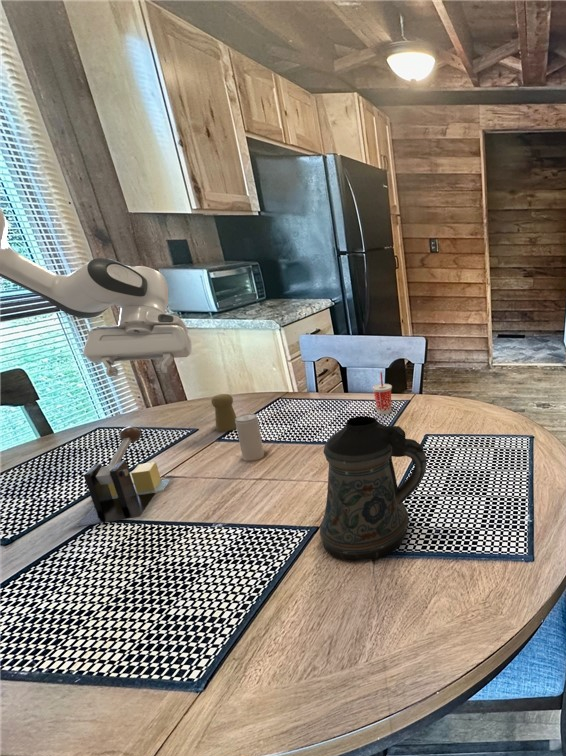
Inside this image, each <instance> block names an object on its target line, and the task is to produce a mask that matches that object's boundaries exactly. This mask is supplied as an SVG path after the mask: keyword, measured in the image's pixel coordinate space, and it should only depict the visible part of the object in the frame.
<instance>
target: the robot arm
mask: <svg viewBox="0 0 566 756" xmlns="http://www.w3.org/2000/svg"><path fill="white" fill-rule="evenodd" d="M8 227H9V226H8V221H7V217H6V215H5V214H4V211H3V210H2V208H1V207H0V278H2V279H4V280H6V281H8V282H10V283H13V284H14V285H17V286H18V287H21V288H23V289H25V290H26V291H29V292H31V293H33V294H34V295H37V296H39V297H40V298H42V299H44V300H46V301H47V302H49V303H50V304H52V306H54V307H56V308H57V309H58V310H60V311H61V312H64V313H65V314H67V315H69V316H72V317H76V318H81V319H92V318H93V319H94V318H97V317H98V316H100V315H102V314H103V313H105V311H107V310H108V309H109V308H111V307H112V306H117V307H119V309H120V311H119V320H118V325H109V326H103V325H102V326H96V327H95V328H93V329H91V330H89V331H88V333H87V338H86V341H85V343H84V346H83V349H82V355H83V356H84V357H85V358H86V359H87V360H89V361H90V362H92V363H94V364H95V363H96V364H97V363H98V364H99V363H103V365H104V367H105V368H106V372H105V373H106V375H107V376H108V377H110V378H112V377H118V376H119V372H120V370H119V369H118V368H117V367H116V366H114V365H115V362H129V361H146V360H162V361H161V362H160V363H156V365H155V366H156V368H155V371H156V372H157V373H158V374H166V373H167V372H168V367H170V365H171V364H172V363H174V359H178V358H188V357H189V356H190V355H192V351H193V350H192V349H193V348H192V340H191V337H190V335H189V329H188V327H187V325H186V324H185V322H184V321H183V320H182V318H180V317H179V316H177V315H173V314H169V313H166V310H167V308H168V306H169V286H168V282H167V279H166V278H165V276H164V275H163V273H161V272H159V271H158V270H156V269H154V268H152V267H148V266H144V265H138V266H136V265H135V266H130V265H125V264H123V263H122V262H120V261H117V260H115V259H112V258H111V259H110V258H107V257H106V258H105V257H98V258H97V257H96V258H94V259H92V260H90V261H88V262H86V263H84V264H83V265H82V266H80V267H78V268H77V269H76V270H75V271H73V272H72V273H69V274H66V275H65V274H64V275H63V274H58V273H54V272H52V271H51V270H49V269H47V268H45V267H43V266H42V265H40V264H38V263H36V262H34V261H32V260H31V259H29V258H27V257H25V256H23V255H22V254H19V253H18V252H17V251H15V250H14V249H13V248H12V247H11V246H10V244H9V242H8V239H7V237H8Z"/></svg>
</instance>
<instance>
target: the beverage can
mask: <svg viewBox="0 0 566 756" xmlns="http://www.w3.org/2000/svg"><path fill="white" fill-rule="evenodd" d="M236 417H237V418H236V421H235V423H236V431H237V437H238V442H239V447H240V452H241V457H242V460H244V461H246V462H247V461H248V462H249V461H259V460H261V459H262V458H263V457H264V456H265V452H264V445H263V441H262V435H261V429H260V424H259V423H260V422H259V418H258V416H257V414H255V413H245V414H241V415H238V416H236Z"/></svg>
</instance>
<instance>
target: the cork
mask: <svg viewBox="0 0 566 756" xmlns="http://www.w3.org/2000/svg"><path fill="white" fill-rule="evenodd" d="M210 403H211V405H212V406H213V407H214V412H215V413H214V415H215V430H216V431H217V432H230V431H234V430H237V428H236V423H235V421H236V418H237V417H238V416H237V414H236V412H235V409H234V407H233V403H234V399H233V396H232V395H231V394H228V393H219V394H216V395H214V396H212V397H211V401H210Z"/></svg>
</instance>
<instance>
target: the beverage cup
mask: <svg viewBox="0 0 566 756" xmlns="http://www.w3.org/2000/svg"><path fill="white" fill-rule="evenodd" d="M392 389H393V385H392V384H389V383H384V381H383V372H382V371H381V372H380V383H378V384H375V385H373V386H372V391H373V395H374V401H375V407H376V413H377V414H378V415H388V414H390V413H391V412H392Z"/></svg>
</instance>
